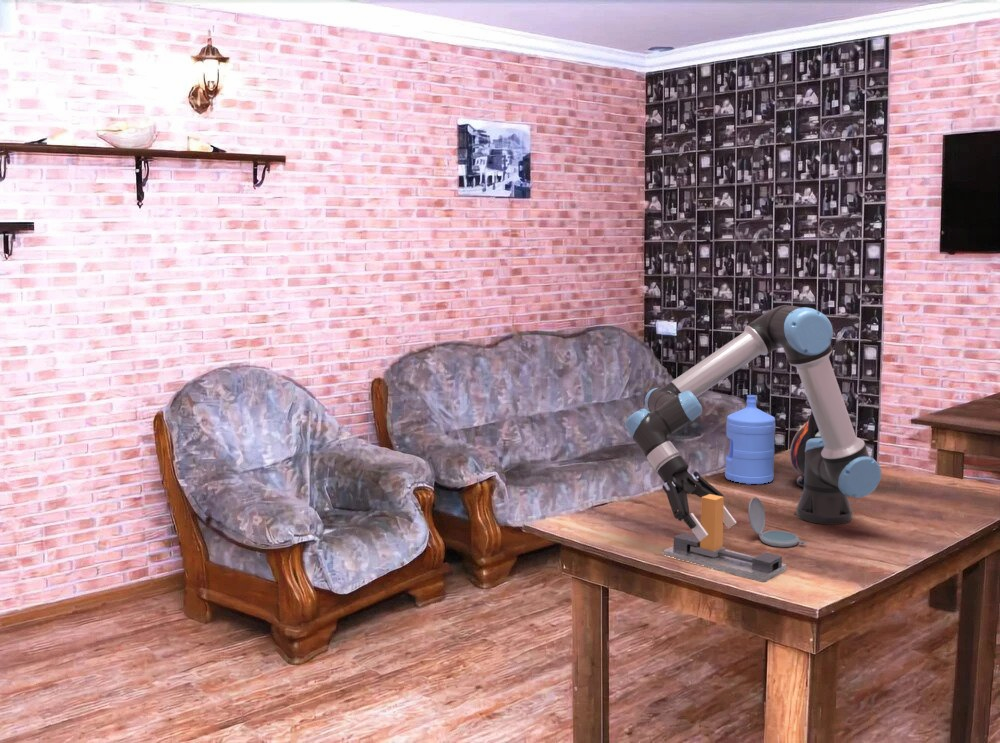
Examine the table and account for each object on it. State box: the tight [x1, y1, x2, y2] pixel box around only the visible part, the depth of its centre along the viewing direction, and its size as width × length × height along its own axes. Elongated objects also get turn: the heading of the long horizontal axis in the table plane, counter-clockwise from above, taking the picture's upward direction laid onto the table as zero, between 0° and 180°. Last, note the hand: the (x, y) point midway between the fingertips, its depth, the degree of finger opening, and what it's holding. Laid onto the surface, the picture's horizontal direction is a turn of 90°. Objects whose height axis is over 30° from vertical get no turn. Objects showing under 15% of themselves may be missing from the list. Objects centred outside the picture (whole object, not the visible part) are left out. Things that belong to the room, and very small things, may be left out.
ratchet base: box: [662, 532, 787, 583], centre depth 245 cm, size 28×11×4 cm, turn 47°
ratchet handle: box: [690, 494, 753, 563], centre depth 243 cm, size 20×5×14 cm, turn 47°
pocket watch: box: [747, 496, 807, 548], centre depth 261 cm, size 10×11×15 cm
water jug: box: [724, 394, 776, 485], centre depth 325 cm, size 16×16×28 cm
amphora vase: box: [789, 399, 849, 489], centre depth 315 cm, size 22×22×28 cm
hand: (718, 531), depth 245 cm, fingers open, 13 cm apart
